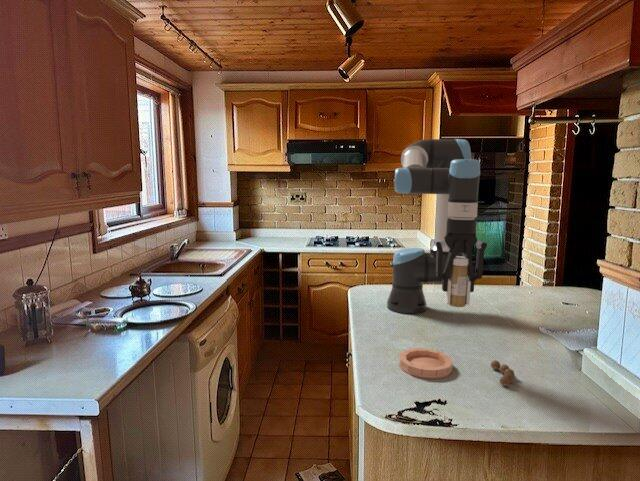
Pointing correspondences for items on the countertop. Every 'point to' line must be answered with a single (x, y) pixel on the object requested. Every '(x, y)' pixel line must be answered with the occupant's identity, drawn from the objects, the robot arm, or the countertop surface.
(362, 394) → the countertop surface
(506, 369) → the bead string
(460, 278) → the sprinkles bottle
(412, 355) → the saucer
